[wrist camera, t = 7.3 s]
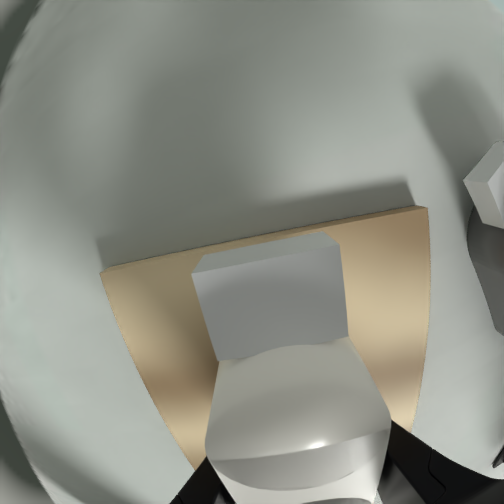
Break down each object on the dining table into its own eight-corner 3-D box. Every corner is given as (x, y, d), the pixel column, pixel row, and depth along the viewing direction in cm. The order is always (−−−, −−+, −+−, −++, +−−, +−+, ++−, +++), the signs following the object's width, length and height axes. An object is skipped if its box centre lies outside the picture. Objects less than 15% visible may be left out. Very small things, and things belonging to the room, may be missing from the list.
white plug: (348, 456, 10) (366, 523, 6) (263, 471, 11) (264, 541, 7) (332, 218, 8) (399, 256, 4) (190, 247, 8) (137, 306, 4)
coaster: (405, 423, 12) (410, 432, 12) (198, 461, 13) (196, 472, 12) (416, 205, 10) (427, 207, 9) (109, 267, 10) (99, 273, 10)
